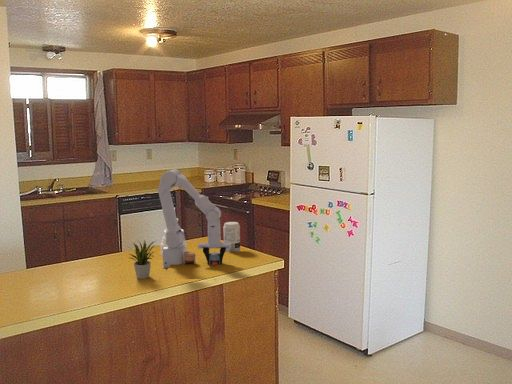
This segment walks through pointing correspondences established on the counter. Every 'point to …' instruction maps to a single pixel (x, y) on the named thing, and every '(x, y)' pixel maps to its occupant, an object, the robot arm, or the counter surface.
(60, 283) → the counter surface
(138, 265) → the house plant
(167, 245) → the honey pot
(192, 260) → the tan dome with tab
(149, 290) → the counter surface
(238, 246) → the supplement can
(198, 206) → the robot arm
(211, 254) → the slate-blue dome with prongs
